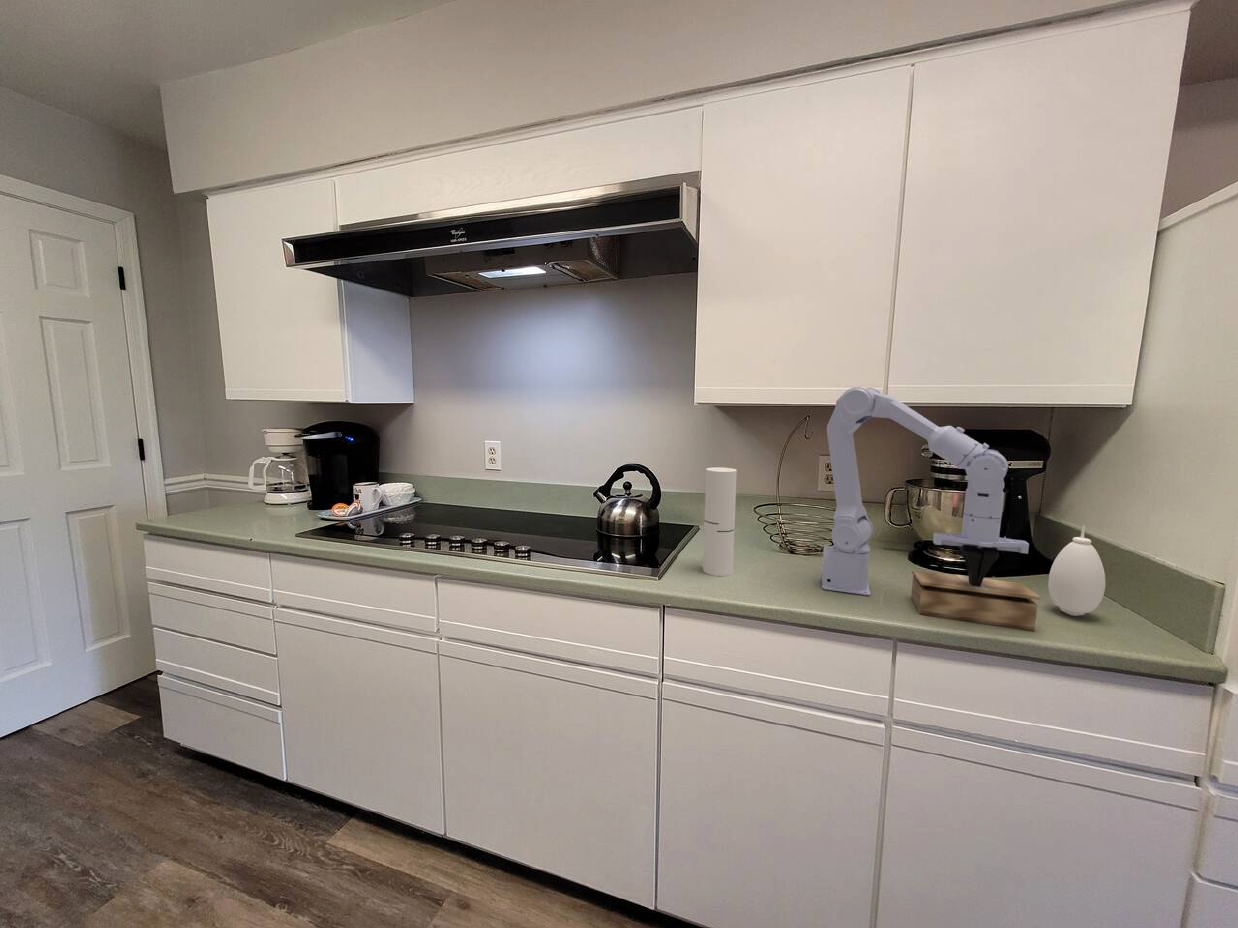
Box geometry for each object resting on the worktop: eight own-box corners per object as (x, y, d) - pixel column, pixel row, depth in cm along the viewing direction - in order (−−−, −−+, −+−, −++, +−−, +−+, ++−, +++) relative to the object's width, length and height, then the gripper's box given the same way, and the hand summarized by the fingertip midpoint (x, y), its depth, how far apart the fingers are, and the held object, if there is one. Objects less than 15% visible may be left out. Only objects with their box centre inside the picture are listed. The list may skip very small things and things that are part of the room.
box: (919, 614, 94) (921, 590, 94) (911, 597, 103) (913, 574, 102) (1034, 631, 88) (1037, 605, 87) (1015, 611, 96) (1018, 587, 95)
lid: (921, 584, 94) (921, 581, 93) (911, 572, 102) (912, 569, 102) (1040, 600, 87) (1040, 596, 87) (1018, 585, 96) (1019, 581, 96)
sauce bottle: (1068, 604, 100) (1079, 519, 97) (1111, 621, 92) (1124, 529, 90) (1034, 606, 99) (1045, 520, 96) (1075, 624, 91) (1088, 531, 88)
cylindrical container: (708, 564, 123) (711, 466, 119) (736, 569, 119) (740, 468, 116) (698, 572, 117) (701, 470, 113) (727, 578, 113) (731, 472, 110)
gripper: (942, 516, 90) (935, 586, 92) (1039, 523, 84) (1030, 598, 86) (933, 508, 96) (927, 573, 98) (1023, 515, 91) (1015, 584, 93)
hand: (974, 584), depth 93 cm, fingers closed, pressing on lid
